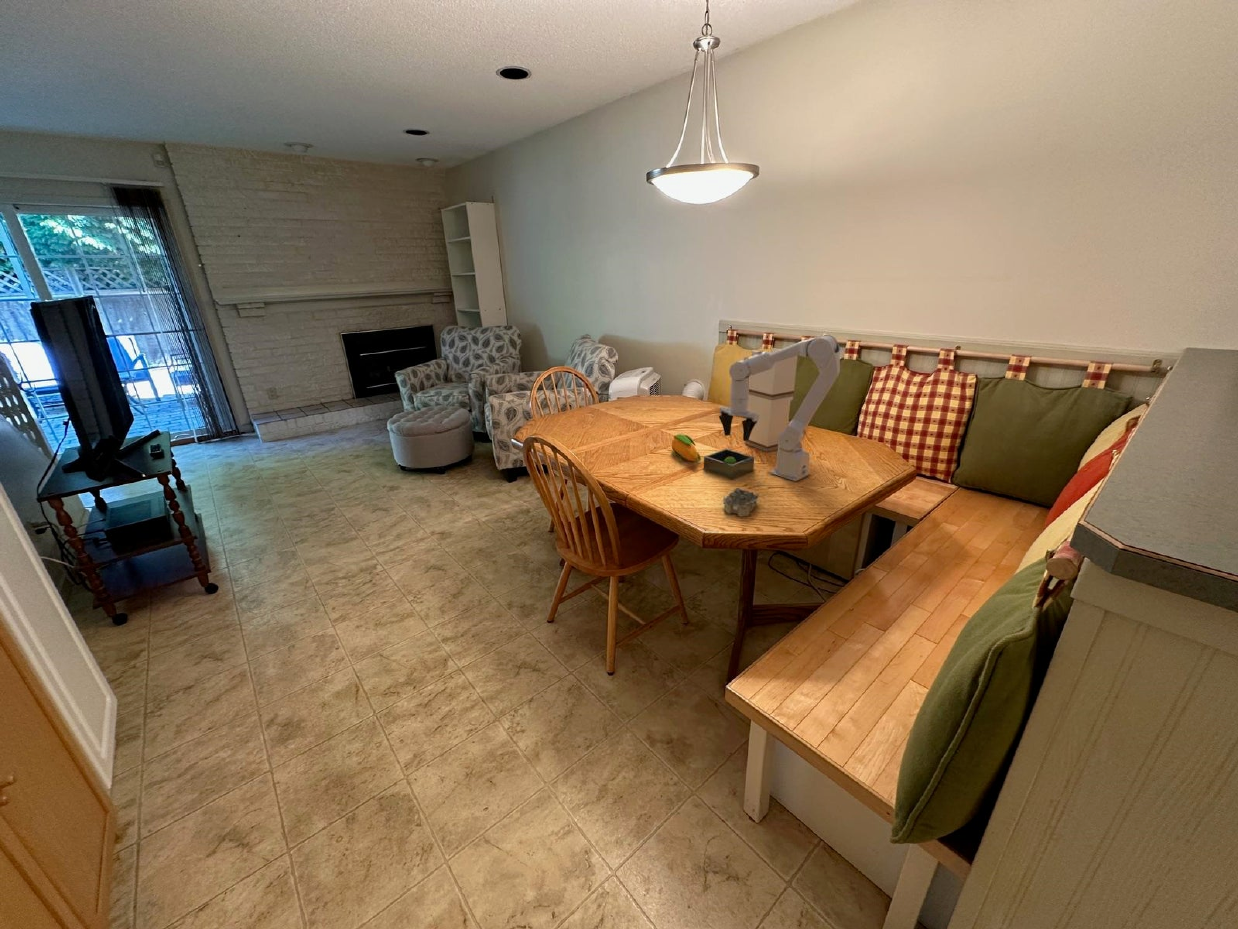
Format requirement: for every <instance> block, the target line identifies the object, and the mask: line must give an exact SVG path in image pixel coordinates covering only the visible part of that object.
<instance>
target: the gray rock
mask: <svg viewBox="0 0 1238 929" xmlns="http://www.w3.org/2000/svg"><path fill="white" fill-rule="evenodd" d="M759 497H760V495H759V494H754V492H753V491H749V490H745V489H742V488H739V487H738V486H737V487H735V488H734V490H733V491H731V492H730V493H728V495H727V496H725V497H723V499H722V503H723V505H724V508H723V510H724V511H725V512H726V513H727V514H736V515H738V517H747V516H748V517H749V514H750V512H752V511H753V509H754V507H757V506H758V499H760V498H759Z"/></svg>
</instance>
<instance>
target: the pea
mask: <svg viewBox="0 0 1238 929" xmlns="http://www.w3.org/2000/svg"><path fill="white" fill-rule="evenodd" d="M724 462H725V463H728V464H731V465H732V464H735V463H736V460H735V458H733V457H727V458H726V459H725V460H724Z"/></svg>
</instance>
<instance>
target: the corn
mask: <svg viewBox="0 0 1238 929" xmlns="http://www.w3.org/2000/svg"><path fill="white" fill-rule="evenodd" d="M671 449H672V450H673V452H674V453H675V454H676V455H677V456H678V457H679V458H680V459H682V460H684V461H686V460H687V461H693V462H701V461H702V458H701V455H700V454H699V453H698V451H697V448H696V443H695V441H694V439H692V438H691V437H690V436H688V435H687V434H683V433H681V434H680V433H678V434H675V435H674V436H673V439H672V441H671Z"/></svg>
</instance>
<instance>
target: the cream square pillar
mask: <svg viewBox="0 0 1238 929" xmlns="http://www.w3.org/2000/svg"><path fill="white" fill-rule="evenodd" d="M782 349H783V348H775V347H772V348H771V352H770V353H774V352H777V351H779V350H782ZM757 352H759V351H758V350H751V356H750V357H752V356H754V355H757ZM798 356H799V355H797V356H794V357H791V358H788V359H785V360H782V361H779V362H776V363H775V364H774V365H773V367H772V369H769V370H767V371H764V372H761V373H758V374H755V375H750V379H749V395H748V409H747V411H750V412H752V413H755V414H758V415H759V418H758V421H757V423H756V424H755V426H754V428H753V429H752V432H751V434H750V437H749V440H747V441H744V444H746V445H748V446H750V447H753V448H756V449H758V450H761V451H764V452H766V453H768V452H772V451H776V450H778V443H777V437H778V435H779V434H780V433H781V432H783V431H784V430H785V429H786V428H787V426H788V425H789V418H790V409H791V408H790V407H791V401H794V395H795V394H794V392H795V384H796V375H797V366H798V365H797V364H798Z"/></svg>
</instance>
